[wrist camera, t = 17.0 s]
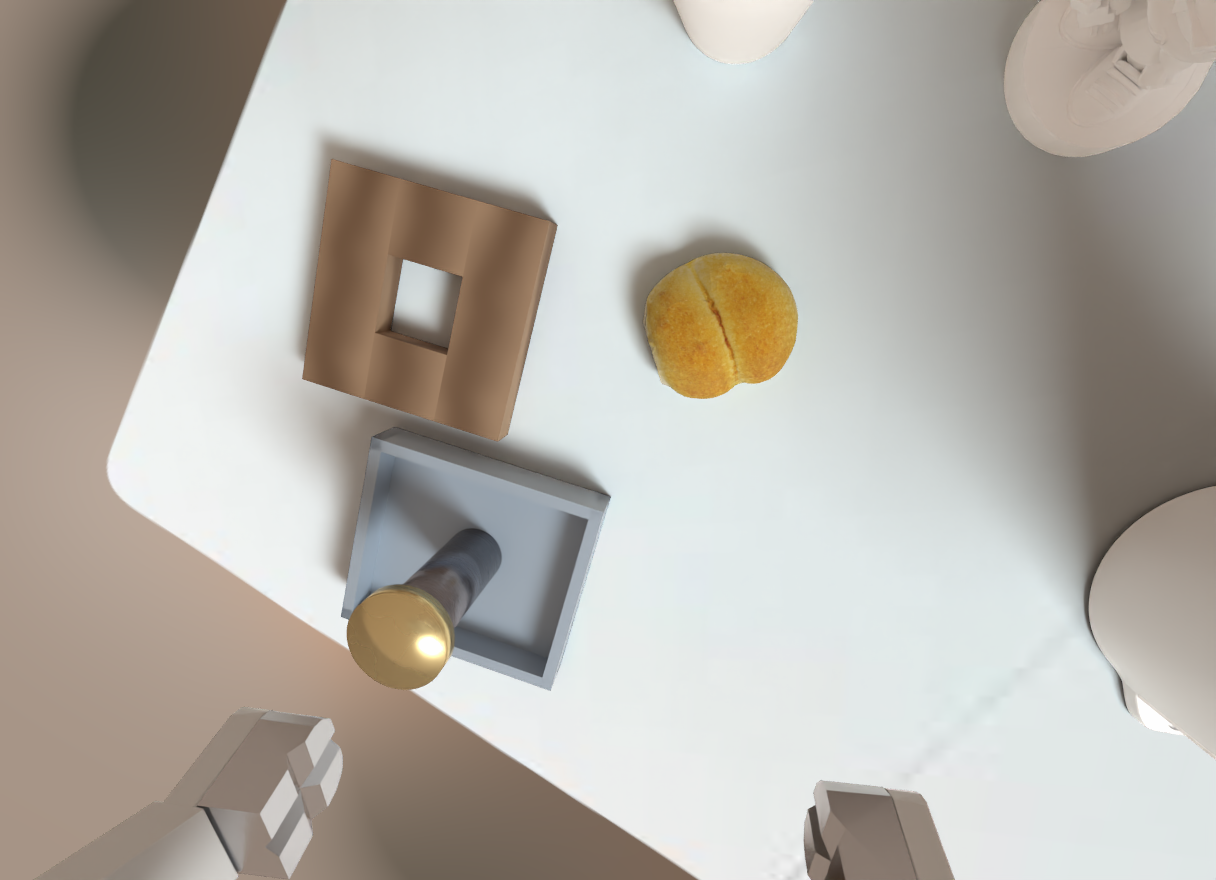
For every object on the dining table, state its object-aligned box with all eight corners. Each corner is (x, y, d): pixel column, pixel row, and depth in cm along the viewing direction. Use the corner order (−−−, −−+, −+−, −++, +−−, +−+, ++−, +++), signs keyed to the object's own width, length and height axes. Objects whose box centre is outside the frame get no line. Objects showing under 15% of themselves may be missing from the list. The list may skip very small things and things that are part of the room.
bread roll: (809, 362, 36) (822, 370, 32) (671, 407, 38) (667, 420, 34) (771, 230, 35) (779, 222, 31) (629, 284, 37) (620, 282, 33)
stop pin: (520, 532, 41) (455, 615, 30) (502, 600, 42) (434, 703, 32) (446, 507, 41) (355, 580, 30) (431, 575, 43) (339, 668, 32)
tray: (610, 496, 40) (603, 512, 37) (560, 664, 44) (550, 690, 41) (394, 427, 41) (371, 436, 38) (363, 596, 45) (340, 616, 42)
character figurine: (1009, -18, 30) (1201, -213, 19) (1224, -53, 28) (1581, -289, 17) (998, 166, 32) (1164, 94, 20) (1198, 144, 30) (1501, 51, 19)
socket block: (557, 225, 36) (549, 221, 34) (507, 434, 40) (497, 441, 38) (350, 165, 37) (331, 158, 35) (320, 375, 41) (302, 379, 39)
